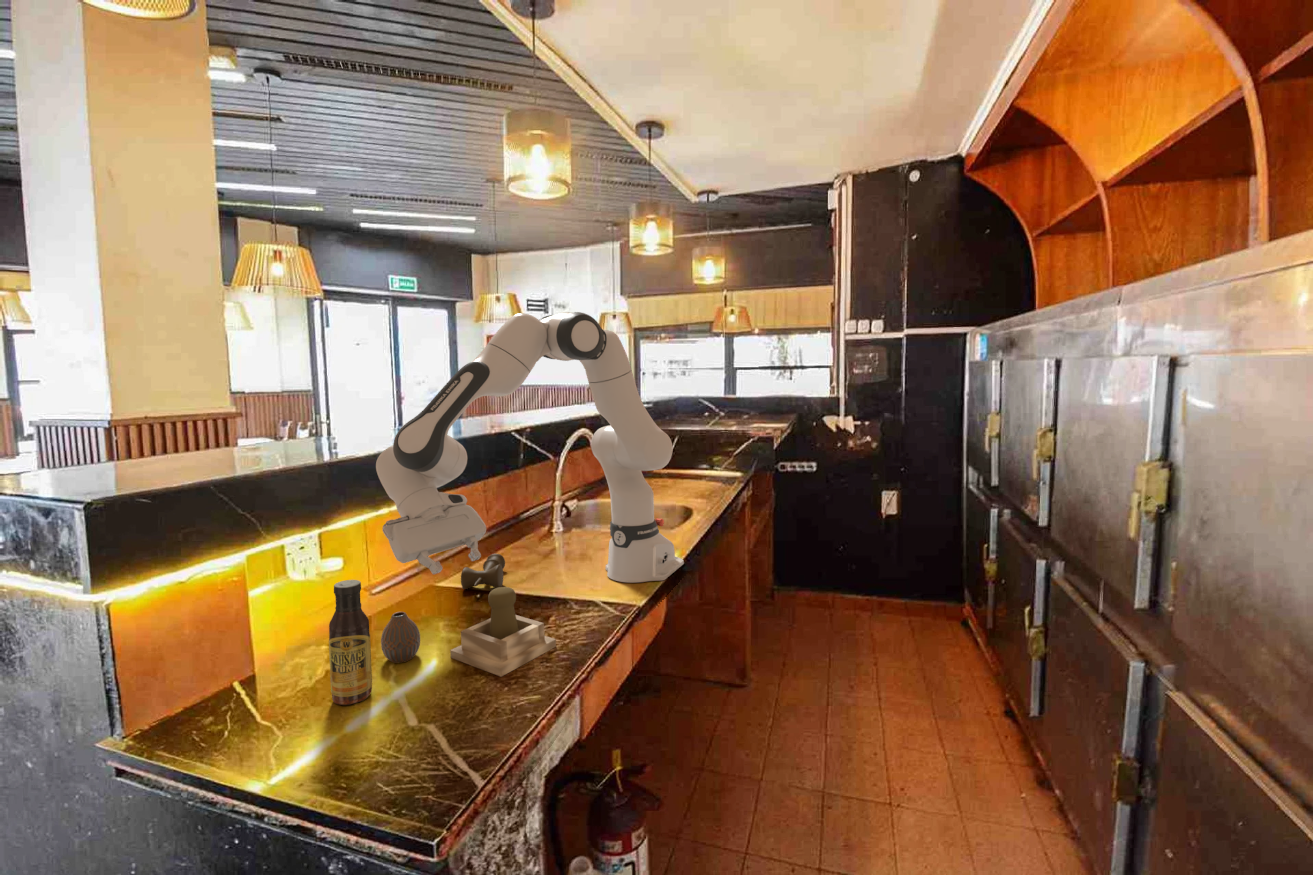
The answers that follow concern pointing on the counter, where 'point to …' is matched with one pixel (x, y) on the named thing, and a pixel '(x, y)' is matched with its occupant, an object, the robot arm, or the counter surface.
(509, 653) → the shaker holder
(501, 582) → the kendama
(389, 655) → the vase
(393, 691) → the counter surface
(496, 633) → the cork
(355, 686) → the sauce bottle
